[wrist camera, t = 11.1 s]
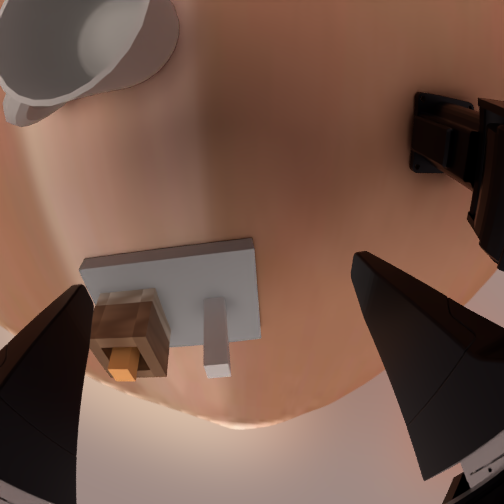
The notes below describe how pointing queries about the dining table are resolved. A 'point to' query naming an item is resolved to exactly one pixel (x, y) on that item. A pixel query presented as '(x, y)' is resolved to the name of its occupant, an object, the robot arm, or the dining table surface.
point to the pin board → (186, 297)
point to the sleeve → (132, 329)
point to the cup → (78, 50)
